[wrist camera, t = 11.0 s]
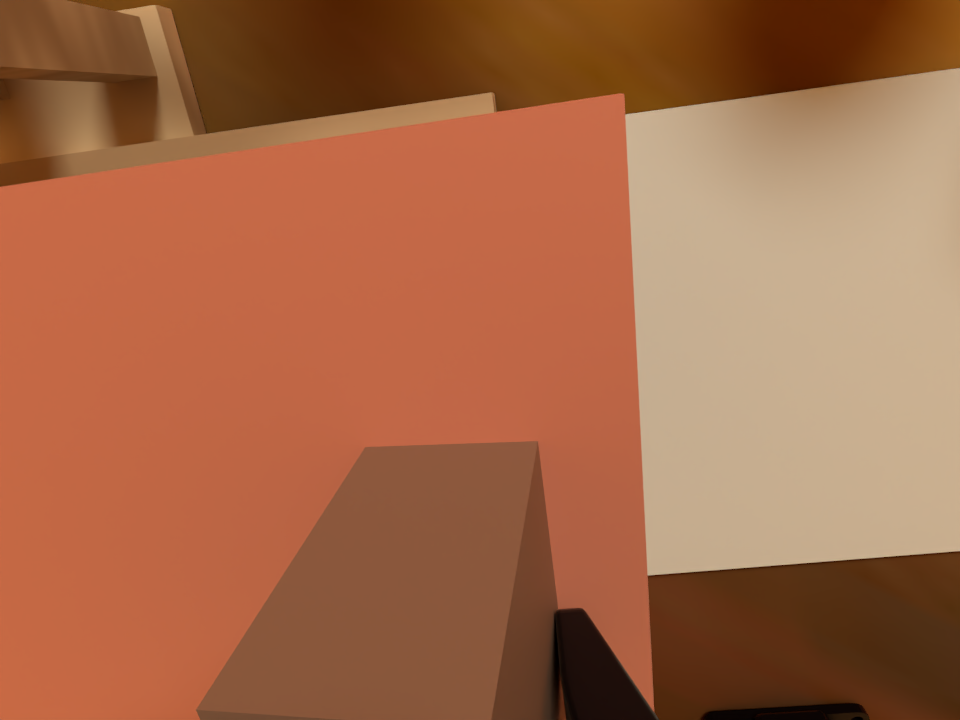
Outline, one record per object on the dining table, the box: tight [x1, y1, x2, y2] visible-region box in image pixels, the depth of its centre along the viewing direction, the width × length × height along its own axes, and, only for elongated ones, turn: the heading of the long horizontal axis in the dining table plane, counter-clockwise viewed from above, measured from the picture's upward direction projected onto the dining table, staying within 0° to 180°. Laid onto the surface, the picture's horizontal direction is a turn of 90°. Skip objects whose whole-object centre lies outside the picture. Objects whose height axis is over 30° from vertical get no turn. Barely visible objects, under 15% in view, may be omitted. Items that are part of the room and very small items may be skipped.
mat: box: [625, 68, 960, 575], centre depth 19 cm, size 16×16×1 cm
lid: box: [0, 94, 654, 720], centre depth 9 cm, size 14×14×5 cm
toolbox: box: [0, 0, 497, 187], centre depth 16 cm, size 17×15×9 cm
